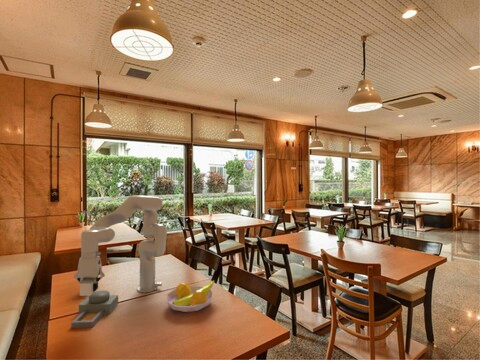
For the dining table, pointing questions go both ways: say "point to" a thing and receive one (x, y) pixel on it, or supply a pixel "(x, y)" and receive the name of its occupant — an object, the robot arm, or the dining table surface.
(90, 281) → the grey bevelled box
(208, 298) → the fruit bowl
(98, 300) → the domed grey panel
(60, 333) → the dining table surface
